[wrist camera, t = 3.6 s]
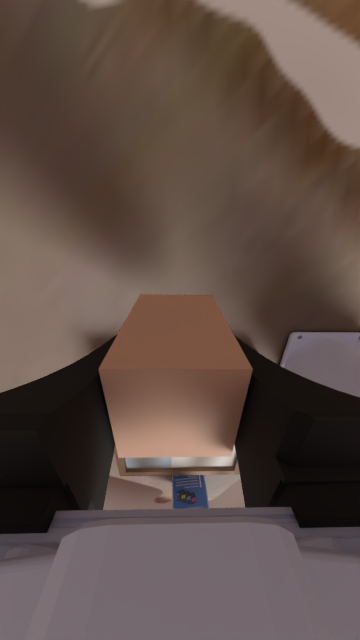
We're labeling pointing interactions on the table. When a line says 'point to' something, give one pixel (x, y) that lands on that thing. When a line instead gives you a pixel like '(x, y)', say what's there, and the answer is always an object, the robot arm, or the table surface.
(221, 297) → the table surface
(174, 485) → the ink cartridge box
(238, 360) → the terracotta block
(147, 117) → the table surface
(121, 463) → the puzzle tray
